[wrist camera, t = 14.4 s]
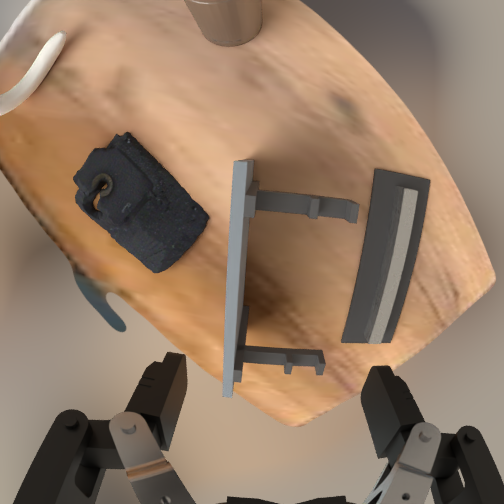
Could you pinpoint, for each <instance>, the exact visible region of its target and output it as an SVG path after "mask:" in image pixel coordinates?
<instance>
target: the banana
mask: <svg viewBox="0 0 504 504" xmlns="http://www.w3.org/2000/svg"><path fill="white" fill-rule="evenodd" d="M65 40H66V32H65V31H63V30H62V31H60V32H58V33H57V34H55V35H54V36H53V37H51V38H50V39H49V40H48V42H47V43H46V44H45V45H44V47H43V48H42V50H41V51H40V53H39V55H38V56H37V58H36V60H35V61H34V63H33V64H32V66H31V67H30V69H29V70H28V72H27V73H26V75H25V76H24V77H23V78H22V79H21V81H20V82H19V83H18V84H17V85H15V86H14V87H13V88H12V89H11V90H9V91H7V92H6V93H4V94H1V95H0V115H3V114H6V113H8V112H10V111H11V110H13V109H15V108H16V107H18V106H19V105H20V104H22V103H23V102H24V101H25V100H26V99H27V98H28V97H29V96H30V95H31V94H32V93H33V92H34V91H35V90H36V89H37V87H38V86H39V85H40V84H41V82H42V81H43V79H44V78H45V76H46V75H47V73H48V72H49V70H50V69H51V67H52V65H53V64H54V62H55V60H56V59H57V57H58V55H59V54H60V52H61V51H62V49H63V46H64V44H65Z"/></svg>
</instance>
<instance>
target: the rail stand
mask: <svg viewBox="0 0 504 504" xmlns="http://www.w3.org/2000/svg"><path fill="white" fill-rule="evenodd" d="M253 168H254V160H246V159H245V160H239V161H234V166H233V180H232V195H231V211H230V227H229V245H228V264H227V285H226V307H225V333H224V363H223V397H231V398H232V394H233V386H234V382H241V378H242V369H243V362H246V363H258V364H272V365H284V373H285V374H291V371H292V366H315V370H316V375H323V371H324V368H325V364H326V363H325V359H324V355H323V351H322V350H309V349H289V348H273V347H259V346H247V345H245V342H246V333H247V324H248V314H249V306H243V299H244V286H245V272H246V259H247V245H248V232H249V219H250V217H251V218H254V216H255V211H256V210H263V211H274V212H285V213H295V214H305V215H308V217H309V218H312V219H317V217H318V216H324V217H333V218H342V219H346V220H347V221H348V222H349V223H356V224H357V218H358V211H359V204H358V203H356V202H354V201H352V200H349V199H341V198H333V197H325V196H316V195H307V194H298V193H288V192H278V191H267V190H259V181H252V180H253Z"/></svg>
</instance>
